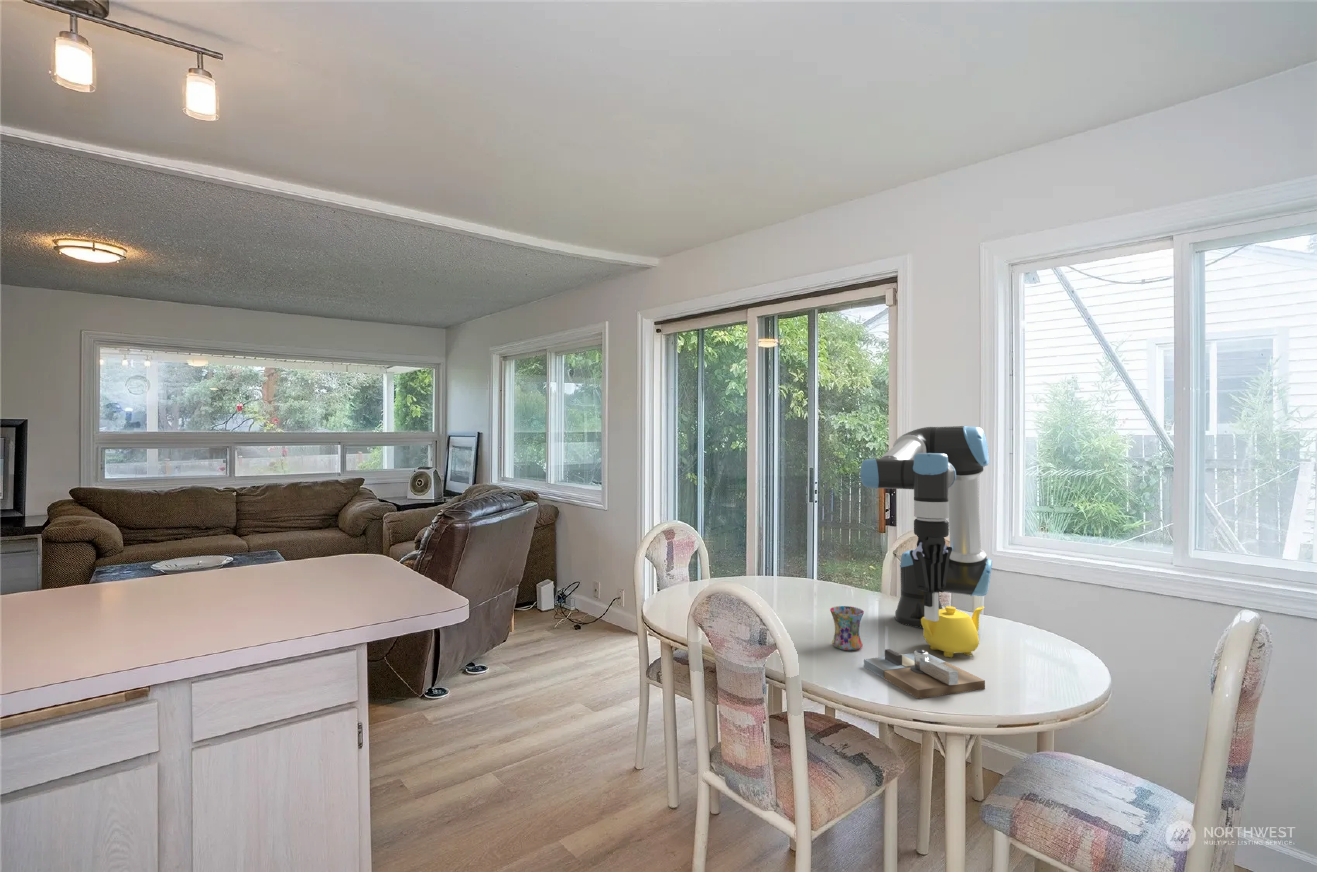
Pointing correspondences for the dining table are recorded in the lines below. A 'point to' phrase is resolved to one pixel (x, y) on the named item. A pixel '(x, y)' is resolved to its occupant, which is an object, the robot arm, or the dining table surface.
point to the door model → (919, 676)
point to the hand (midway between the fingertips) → (931, 619)
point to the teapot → (953, 631)
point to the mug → (847, 627)
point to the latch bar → (934, 668)
